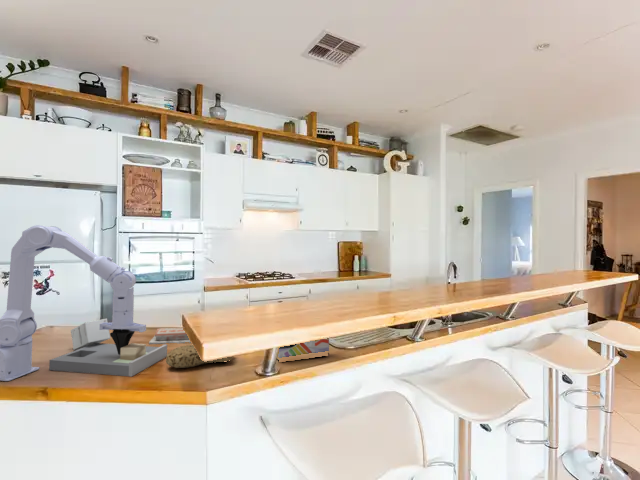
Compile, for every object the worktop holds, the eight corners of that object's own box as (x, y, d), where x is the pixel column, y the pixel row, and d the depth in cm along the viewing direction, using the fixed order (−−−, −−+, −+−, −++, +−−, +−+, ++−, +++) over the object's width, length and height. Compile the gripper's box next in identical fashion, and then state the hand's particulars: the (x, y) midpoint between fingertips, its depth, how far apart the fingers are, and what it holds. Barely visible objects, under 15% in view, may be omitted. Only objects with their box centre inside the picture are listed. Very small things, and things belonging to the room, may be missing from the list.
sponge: (231, 359, 121) (172, 349, 117) (236, 338, 120) (176, 328, 116) (227, 380, 108) (160, 371, 104) (233, 358, 107) (166, 347, 103)
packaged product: (201, 325, 145) (198, 331, 135) (201, 336, 145) (197, 344, 135) (155, 326, 141) (148, 332, 131) (155, 338, 141) (148, 345, 131)
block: (135, 360, 105) (135, 349, 105) (120, 359, 106) (120, 348, 106) (145, 355, 110) (145, 344, 110) (131, 354, 111) (131, 343, 111)
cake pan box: (276, 364, 113) (277, 310, 113) (272, 359, 118) (273, 307, 118) (329, 358, 120) (331, 307, 121) (324, 353, 125) (325, 304, 125)
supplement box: (69, 330, 124) (84, 321, 118) (92, 326, 130) (108, 317, 124) (72, 350, 123) (88, 343, 116) (95, 345, 129) (111, 338, 122)
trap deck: (131, 376, 101) (132, 362, 101) (49, 370, 104) (49, 356, 104) (167, 356, 118) (167, 344, 118) (95, 351, 122) (95, 340, 122)
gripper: (152, 308, 112) (151, 350, 112) (111, 306, 114) (110, 348, 113) (138, 313, 105) (137, 358, 105) (94, 311, 107) (93, 355, 107)
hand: (122, 353), depth 109 cm, fingers closed
